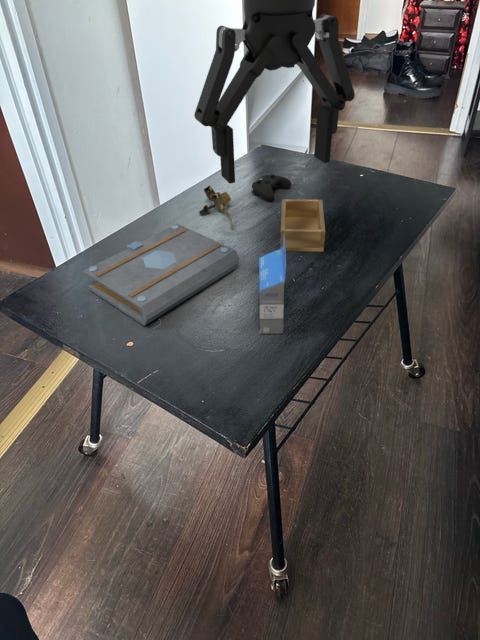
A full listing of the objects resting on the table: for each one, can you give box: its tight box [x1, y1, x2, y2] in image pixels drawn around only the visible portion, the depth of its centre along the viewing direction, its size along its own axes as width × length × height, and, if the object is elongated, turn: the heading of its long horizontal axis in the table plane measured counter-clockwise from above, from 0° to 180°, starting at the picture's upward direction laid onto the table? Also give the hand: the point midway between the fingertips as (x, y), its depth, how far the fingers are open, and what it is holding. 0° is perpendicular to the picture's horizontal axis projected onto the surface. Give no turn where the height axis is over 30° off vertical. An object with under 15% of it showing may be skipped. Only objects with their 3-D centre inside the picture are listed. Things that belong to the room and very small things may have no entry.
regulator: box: [199, 185, 234, 231], centre depth 101 cm, size 8×4×15 cm
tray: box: [279, 198, 326, 253], centre depth 93 cm, size 8×13×4 cm, turn 175°
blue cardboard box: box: [258, 234, 287, 335], centre depth 71 cm, size 9×4×12 cm, turn 178°
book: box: [82, 223, 240, 327], centre depth 82 cm, size 21×16×5 cm
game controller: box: [251, 174, 292, 202], centre depth 109 cm, size 10×5×6 cm
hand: (276, 169), depth 62 cm, fingers open, 13 cm apart
